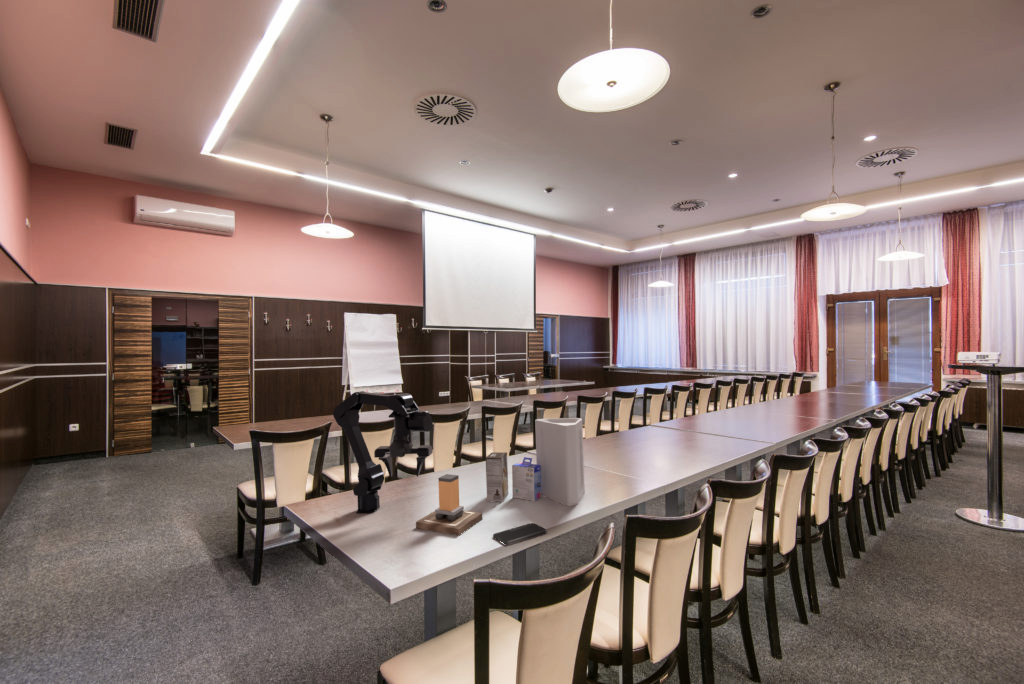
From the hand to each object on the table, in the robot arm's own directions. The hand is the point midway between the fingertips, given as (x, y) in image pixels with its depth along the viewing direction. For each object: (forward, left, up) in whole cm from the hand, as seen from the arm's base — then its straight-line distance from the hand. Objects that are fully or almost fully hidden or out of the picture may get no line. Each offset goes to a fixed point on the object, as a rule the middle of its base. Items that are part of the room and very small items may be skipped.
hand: (404, 476), depth 154 cm
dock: (+17, -8, -13) cm, 23 cm away
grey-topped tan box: (+17, -8, -11) cm, 22 cm away
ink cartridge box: (+41, +17, -13) cm, 46 cm away
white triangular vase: (+56, +19, -13) cm, 61 cm away
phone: (+40, -17, -14) cm, 46 cm away
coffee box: (+30, +17, -13) cm, 37 cm away
